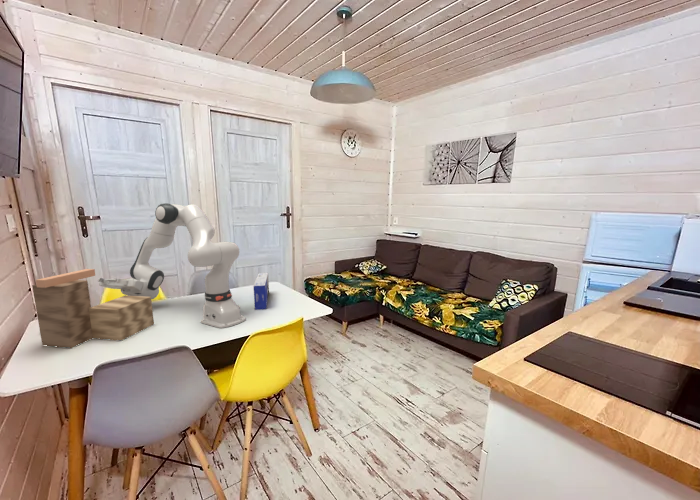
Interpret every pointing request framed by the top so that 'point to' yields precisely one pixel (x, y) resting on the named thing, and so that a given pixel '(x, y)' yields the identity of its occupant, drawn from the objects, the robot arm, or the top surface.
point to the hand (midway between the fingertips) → (107, 280)
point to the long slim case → (64, 278)
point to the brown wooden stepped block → (87, 315)
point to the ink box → (261, 291)
